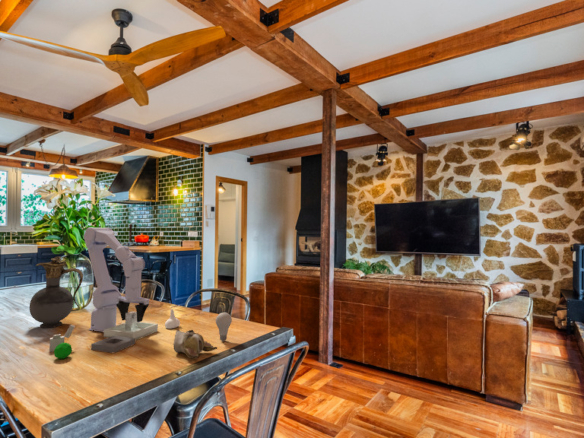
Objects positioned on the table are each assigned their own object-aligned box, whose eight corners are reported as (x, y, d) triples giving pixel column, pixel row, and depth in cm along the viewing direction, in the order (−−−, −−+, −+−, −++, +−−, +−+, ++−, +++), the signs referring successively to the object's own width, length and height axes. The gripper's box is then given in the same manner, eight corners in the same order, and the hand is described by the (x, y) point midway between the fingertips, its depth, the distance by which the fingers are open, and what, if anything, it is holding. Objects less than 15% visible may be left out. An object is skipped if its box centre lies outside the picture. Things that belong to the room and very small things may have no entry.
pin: (124, 333, 135) (125, 313, 136) (130, 330, 138) (131, 311, 139) (131, 333, 134) (132, 313, 135) (137, 331, 138) (137, 311, 138)
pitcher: (27, 326, 145) (30, 256, 147) (79, 319, 158) (81, 255, 159) (29, 332, 137) (32, 258, 138) (83, 324, 150) (86, 256, 151)
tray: (103, 337, 132) (104, 329, 132) (130, 327, 145) (130, 320, 146) (132, 341, 128) (132, 333, 128) (157, 331, 141) (157, 323, 141)
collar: (91, 349, 119) (91, 343, 119) (113, 340, 128) (114, 335, 128) (113, 353, 116) (113, 347, 116) (135, 343, 125) (135, 338, 125)
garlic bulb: (174, 330, 144) (175, 311, 144) (162, 328, 145) (162, 310, 145) (182, 326, 150) (182, 308, 150) (169, 325, 151) (170, 307, 151)
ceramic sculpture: (188, 322, 124) (219, 330, 117) (186, 345, 124) (218, 355, 117) (165, 329, 115) (197, 339, 108) (163, 354, 115) (196, 366, 108)
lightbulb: (234, 339, 132) (234, 311, 132) (226, 344, 126) (226, 315, 126) (220, 337, 134) (221, 310, 134) (212, 342, 128) (212, 313, 128)
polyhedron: (68, 354, 114) (69, 339, 114) (74, 357, 111) (74, 343, 111) (51, 358, 110) (52, 343, 110) (56, 362, 107) (56, 347, 107)
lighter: (49, 351, 116) (50, 328, 116) (49, 350, 117) (50, 327, 117) (74, 347, 120) (74, 325, 120) (73, 346, 122) (74, 324, 122)
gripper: (111, 287, 136) (109, 321, 135) (140, 290, 131) (139, 325, 131) (124, 285, 142) (123, 317, 142) (153, 287, 138) (152, 320, 138)
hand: (132, 320), depth 137 cm, fingers open, 7 cm apart
